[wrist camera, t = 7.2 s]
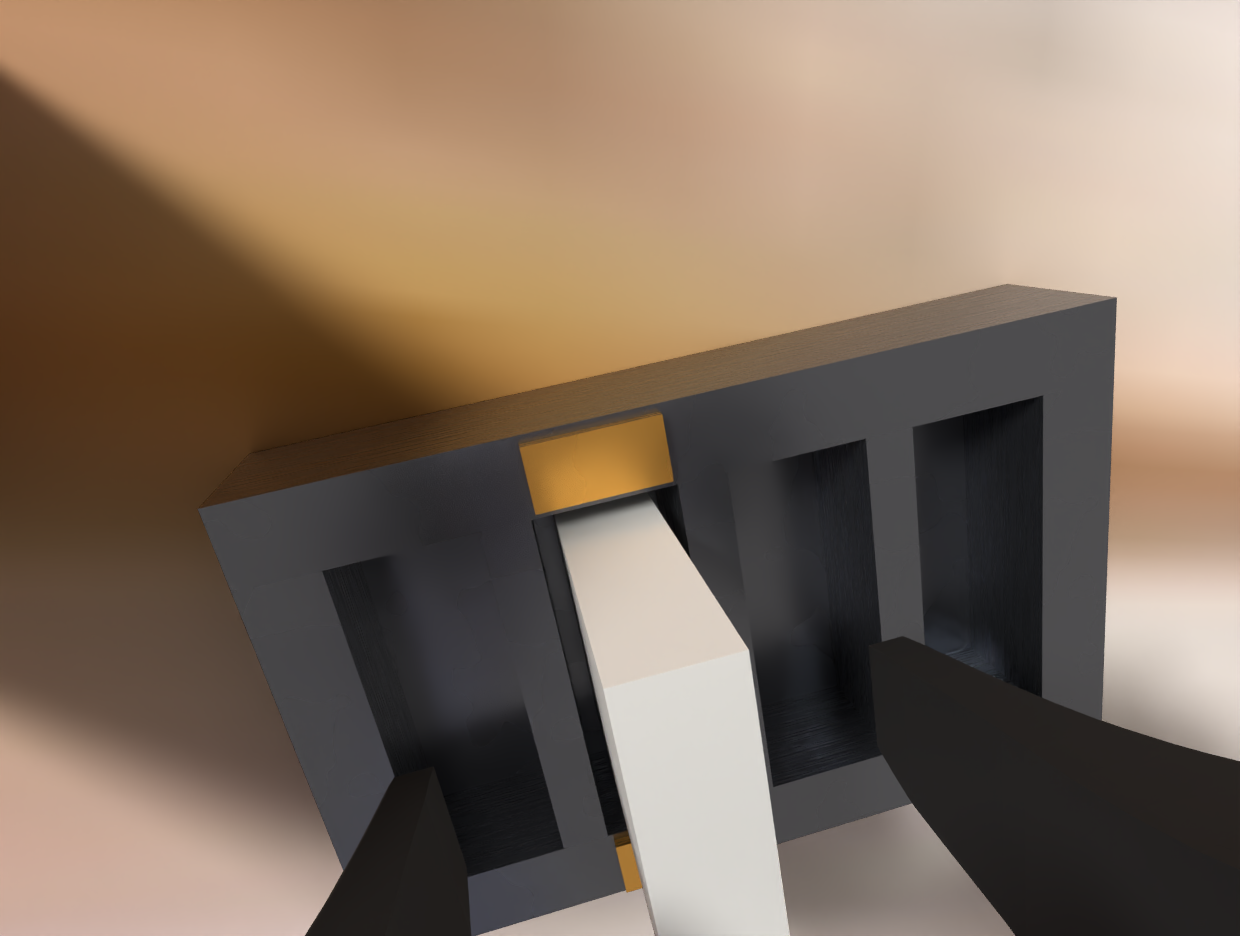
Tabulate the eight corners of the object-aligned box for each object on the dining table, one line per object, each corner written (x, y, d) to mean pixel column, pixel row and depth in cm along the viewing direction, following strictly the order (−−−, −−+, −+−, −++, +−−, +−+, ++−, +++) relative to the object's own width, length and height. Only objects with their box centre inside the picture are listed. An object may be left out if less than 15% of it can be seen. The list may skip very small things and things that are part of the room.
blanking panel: (677, 710, 18) (798, 996, 11) (602, 731, 18) (680, 1035, 11) (633, 470, 16) (748, 649, 9) (547, 490, 16) (603, 689, 9)
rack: (1012, 671, 20) (1108, 751, 17) (394, 849, 18) (379, 973, 15) (1007, 284, 17) (1125, 298, 14) (249, 453, 15) (192, 513, 12)
